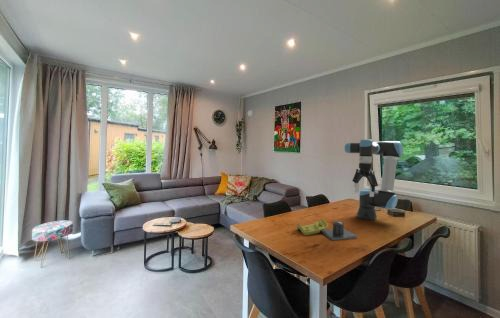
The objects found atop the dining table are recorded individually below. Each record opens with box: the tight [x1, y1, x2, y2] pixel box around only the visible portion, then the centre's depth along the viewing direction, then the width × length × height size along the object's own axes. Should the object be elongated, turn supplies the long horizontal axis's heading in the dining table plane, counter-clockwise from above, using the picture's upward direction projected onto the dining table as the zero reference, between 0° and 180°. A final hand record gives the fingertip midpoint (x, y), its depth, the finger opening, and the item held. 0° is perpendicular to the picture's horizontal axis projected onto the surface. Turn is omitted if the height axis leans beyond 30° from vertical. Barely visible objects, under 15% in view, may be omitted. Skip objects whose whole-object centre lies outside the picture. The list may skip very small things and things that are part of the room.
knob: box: [332, 220, 345, 235], centre depth 150 cm, size 7×7×7 cm
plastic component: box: [296, 218, 329, 236], centre depth 156 cm, size 20×7×10 cm
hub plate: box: [319, 228, 358, 242], centre depth 149 cm, size 18×15×6 cm
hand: (363, 194), depth 152 cm, fingers open, 13 cm apart
